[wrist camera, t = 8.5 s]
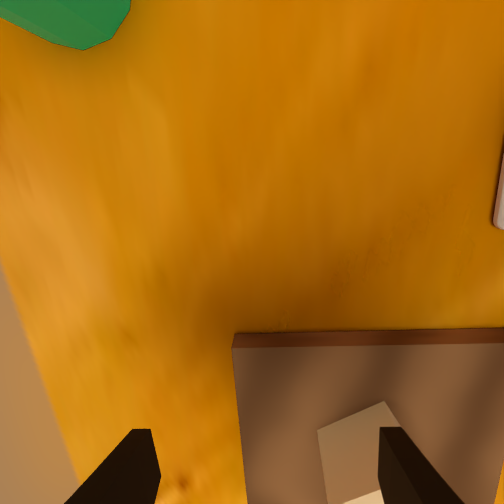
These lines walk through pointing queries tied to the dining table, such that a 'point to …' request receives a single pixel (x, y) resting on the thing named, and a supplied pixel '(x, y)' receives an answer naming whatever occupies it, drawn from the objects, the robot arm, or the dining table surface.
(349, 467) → the cube
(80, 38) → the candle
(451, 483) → the walnut board
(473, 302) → the dining table surface
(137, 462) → the robot arm
